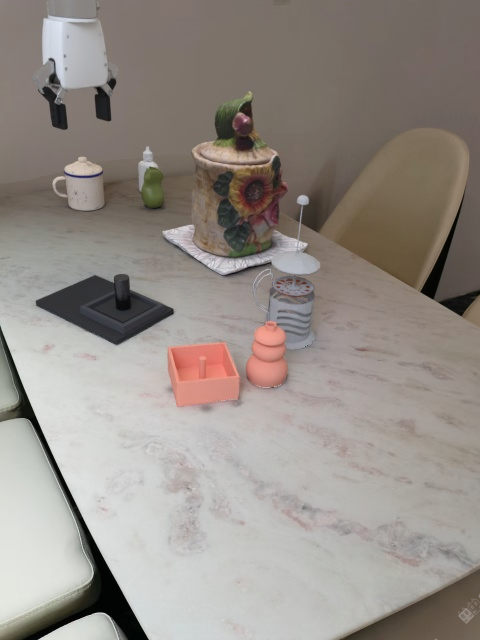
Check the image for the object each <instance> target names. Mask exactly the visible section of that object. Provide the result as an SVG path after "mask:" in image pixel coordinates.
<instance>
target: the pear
mask: <svg viewBox="0 0 480 640" xmlns="http://www.w3.org/2000/svg"><path fill="white" fill-rule="evenodd" d="M163 180H164V175H163V172H162V170H160V169H159V167H158V168H157V167H151V166H149V168H148V169H146V171H145V173H144V183H143V185H142V189H141V192H140V195H141V200H142V202H143V204H144V205H145V206H146V207H148V208H150V209H157V208H159V207H161V206H162V205H163V204H164V201H165V192H164V188H163V185H162V181H163Z"/></svg>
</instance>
